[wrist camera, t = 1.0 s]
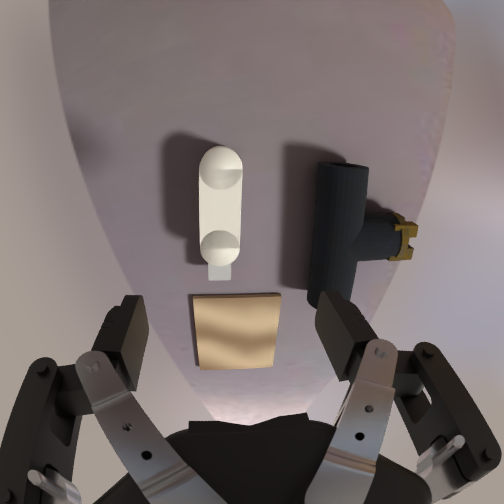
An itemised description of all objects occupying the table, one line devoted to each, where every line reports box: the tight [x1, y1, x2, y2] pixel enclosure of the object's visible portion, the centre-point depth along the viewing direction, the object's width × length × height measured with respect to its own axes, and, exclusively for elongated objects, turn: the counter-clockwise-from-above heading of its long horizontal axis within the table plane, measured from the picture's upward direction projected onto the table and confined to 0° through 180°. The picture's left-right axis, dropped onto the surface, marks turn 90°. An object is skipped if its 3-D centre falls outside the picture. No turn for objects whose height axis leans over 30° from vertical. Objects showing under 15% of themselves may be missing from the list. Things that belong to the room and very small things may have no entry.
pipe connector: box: [307, 162, 418, 309], centre depth 28 cm, size 12×5×15 cm
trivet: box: [193, 294, 281, 370], centre depth 34 cm, size 12×10×1 cm
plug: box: [199, 146, 242, 280], centre depth 25 cm, size 13×4×4 cm, turn 177°
